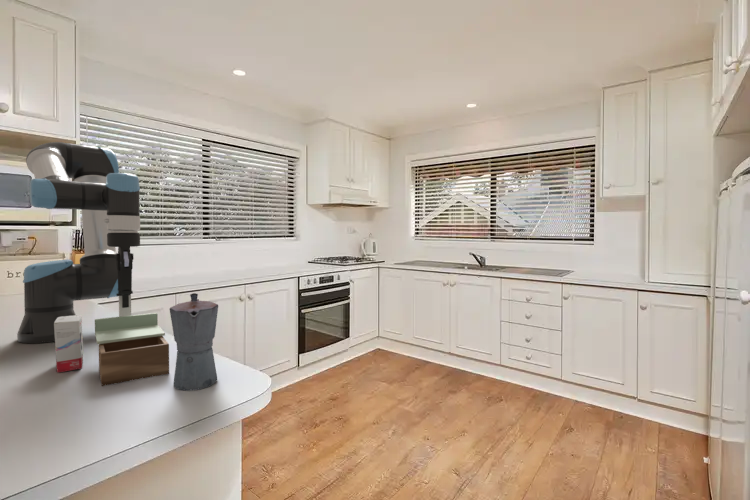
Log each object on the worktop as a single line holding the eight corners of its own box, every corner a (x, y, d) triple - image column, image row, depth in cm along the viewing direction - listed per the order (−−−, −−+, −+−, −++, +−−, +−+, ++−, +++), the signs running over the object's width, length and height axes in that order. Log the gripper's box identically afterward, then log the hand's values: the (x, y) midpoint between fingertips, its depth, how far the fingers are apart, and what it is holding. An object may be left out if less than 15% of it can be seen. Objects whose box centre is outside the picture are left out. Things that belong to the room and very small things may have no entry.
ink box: (81, 370, 94) (80, 320, 94) (54, 373, 92) (53, 323, 91) (83, 359, 102) (83, 314, 101) (58, 363, 99) (57, 316, 98)
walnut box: (99, 371, 94) (98, 341, 93) (161, 361, 101) (160, 333, 101) (101, 386, 85) (101, 353, 84) (169, 373, 93) (168, 344, 92)
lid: (94, 333, 100) (94, 319, 99) (157, 326, 108) (156, 312, 108) (97, 344, 90) (96, 328, 90) (164, 335, 99) (164, 321, 98)
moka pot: (170, 399, 79) (169, 299, 78) (170, 374, 92) (169, 288, 91) (221, 391, 83) (221, 296, 82) (214, 368, 97) (213, 286, 96)
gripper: (105, 231, 110) (106, 316, 111) (108, 231, 99) (110, 325, 100) (136, 231, 114) (138, 313, 115) (143, 232, 104) (144, 321, 105)
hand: (125, 318), depth 108 cm, fingers closed
